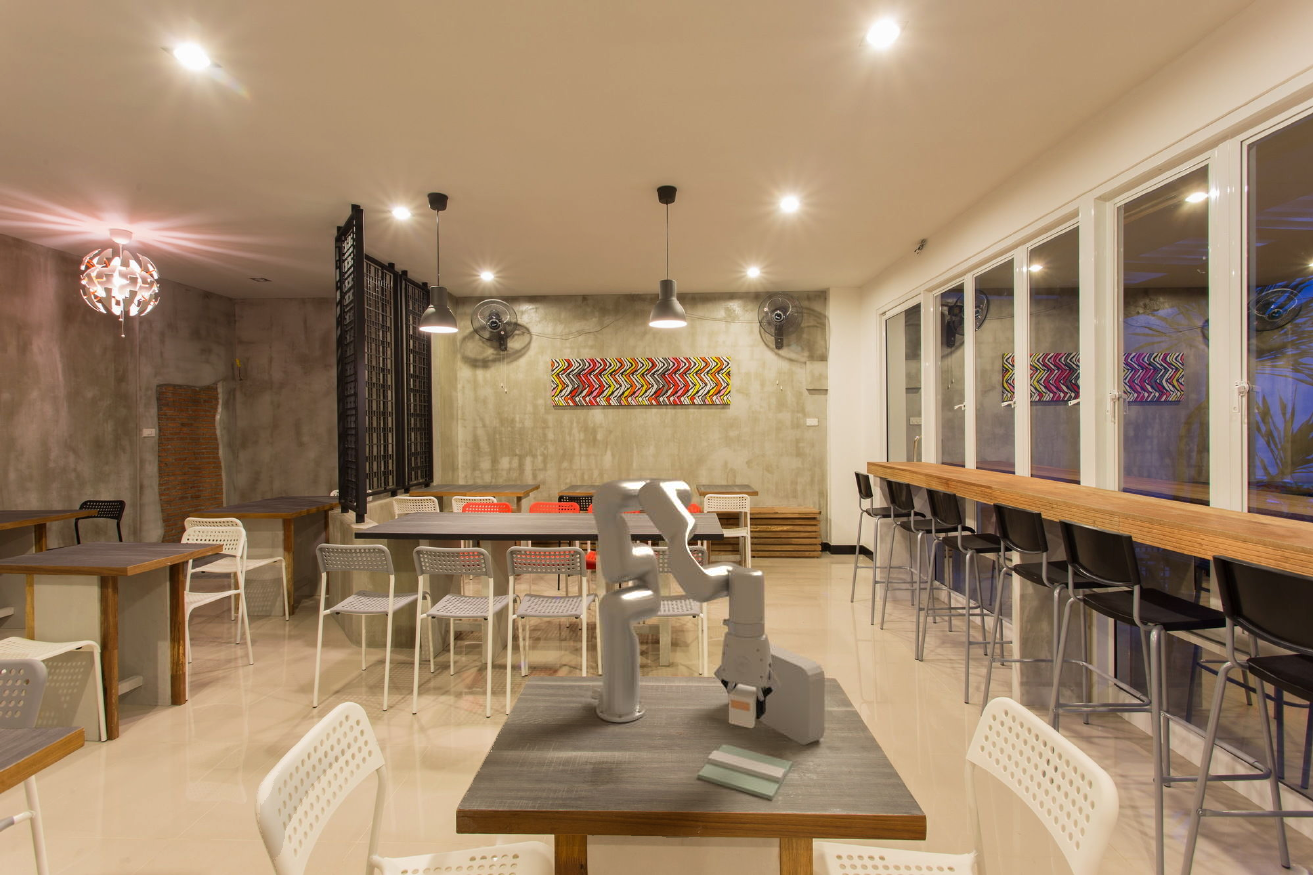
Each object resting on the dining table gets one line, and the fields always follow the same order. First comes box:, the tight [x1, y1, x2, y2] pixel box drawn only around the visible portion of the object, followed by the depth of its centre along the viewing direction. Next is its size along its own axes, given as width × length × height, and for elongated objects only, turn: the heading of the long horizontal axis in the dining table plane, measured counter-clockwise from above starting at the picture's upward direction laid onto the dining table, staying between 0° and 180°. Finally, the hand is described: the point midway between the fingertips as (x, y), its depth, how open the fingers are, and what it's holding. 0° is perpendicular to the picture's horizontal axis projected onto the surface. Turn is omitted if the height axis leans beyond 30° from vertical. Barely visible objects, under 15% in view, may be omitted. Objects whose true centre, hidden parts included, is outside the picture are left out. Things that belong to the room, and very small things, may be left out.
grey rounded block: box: [727, 642, 826, 746], centre depth 151 cm, size 29×8×18 cm, turn 33°
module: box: [728, 684, 758, 729], centre depth 127 cm, size 5×8×6 cm, turn 152°
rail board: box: [697, 743, 793, 801], centre depth 128 cm, size 16×14×2 cm
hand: (747, 712), depth 128 cm, fingers closed on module, 4 cm apart
